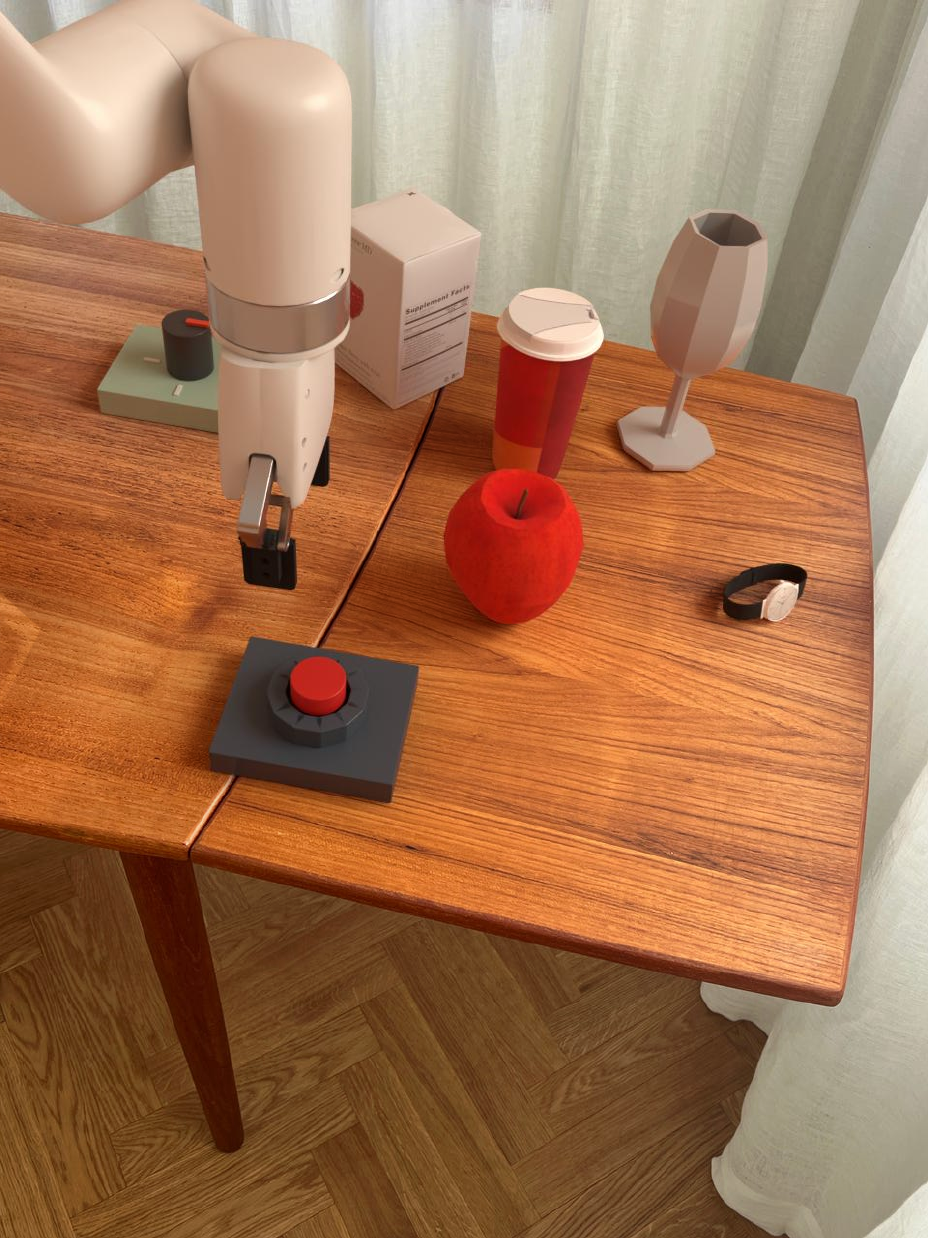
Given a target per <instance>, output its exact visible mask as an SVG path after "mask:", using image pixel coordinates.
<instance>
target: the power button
mask: <svg viewBox="0 0 928 1238" xmlns="http://www.w3.org/2000/svg"><path fill="white" fill-rule="evenodd" d="M290 689H291V699H292V702H293V703H294V705H295V706H296V707H297V708H298V709H299V710H300V711H302V712H304V713H306V714H309V715H315V716H321V715H327V714H330V713H332V712H334V711H336V710H337V709H338V708H339V707H340V706H341V705H342V704H343V702H344V700H345V697H346V674H345V671H344V669H343V668H342V666H341V665H340V664H338V663H337V662H336V661H334V660H332V659H329V658H326V657H311V658H307V659H305V660H303V661H301V662H300V663H298V664H297V665H296V666H295V667H294V669H293V671H292V673H291V676H290Z"/></svg>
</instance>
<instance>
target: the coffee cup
mask: <svg viewBox="0 0 928 1238" xmlns="http://www.w3.org/2000/svg"><path fill="white" fill-rule="evenodd" d="M600 321H601V320H600V317H599V316H598V313H597V311H596V309H594V305H593V304H592V303H591V302H590V301H589V300H587V299H586V298H584V297H583V296H580V295H579V294H577V293H574V292H572V291H569V290H565V289H561V288H554V287H535V288H534V287H533V288H530V289H526V290H523V291H520V292H519V293H517V294H516V295H515V296H514V297H513V298H512V299H511V301H510V302H509V304H508V305H507V306H506V307H505V308H504V310H503V311H502V312H501V314H500V316H499V318H498V320H497V323H496V325H495V326H496V330H497V333H498V335H499V336H500V348H499V349H500V351H499V359H498V360H499V361H498V374H497V386H496V397H495V398H496V399H495V409H494V410H495V411H494V424H493V436H492V437H493V438H492V464H493V467H494V469H495V470H499V469H503V468H504V469H520V470H526V471H532V472H536V473H539V474H541V475H544V476H547V477H550V478H552V479H553V480H554V479H555V478H556V477H557V476H558V474H559V472H560V471H561V467H562V464H563V462H564V459H565V456H566V452H567V450H568V445H569V442H570V439H571V436H572V433H573V429H574V426H575V422H576V419H577V416H578V414H579V411H580V407H581V404H582V400H583V397H584V393H585V389H586V386H587V382H588V378H589V375H590V371H591V368H592V364H593V361H594V357H595V354H596V353H597V351H598V350H599V349H600V348H601V346H602V345H603V342H604V338H605V336H604V330H603V327H602V324H601V322H600Z"/></svg>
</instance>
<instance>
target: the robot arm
mask: <svg viewBox="0 0 928 1238" xmlns="http://www.w3.org/2000/svg"><path fill="white" fill-rule="evenodd" d="M352 146H353V103H352V91H351V86H350V83H349V79H348V77H347V75H346V74H345V71H344V70H343V68H342V67H341V65H340V64H339V63H338V62H337V61H336V60H335V59H334V58H333V57H331V56H330V55H329V54H327V53H326V52H324V51H323V50H322V49H319V48H317V47H315V46H314V45H313V46H312V45H310V44H307V43H305V42H301V41H297V40H291V39H285V38H277V37H267V36H265V37H264V36H260V35H258V34H256V33H254V32H252V31H249V30H248V29H246V28H244V27H242V26H240V25H239V24H237V23H235V22H233V21H231V20H229V19H227V17H224V16H222V15H221V14H219V13H217V12H215V11H214V10H212V9H210V8H208V7H206V6H205V5H203V4H201V3H200V2H197V1H195V0H118V1H116V2H115V3H112V4H110V5H108V6H107V7H104V8H102V9H100V10H99V11H96V12H94V13H92V14H90V15H86V16H84V17H82V18H80V19H78V20H76V21H74V22H72V23H70V24H68V25H66V26H64V27H62V28H60V29H58V30H56V31H54V32H52V33H50V34H48V35H46V36H44V37H43V38H41V39H39V40H37V41H35V42H32V43H30V42H29V41H28V40H27V39H26V38H25V36H24V35H22V33H21V32H20V31H19V30H18V29H17V28H16V27H15V25H14V24H13V23H12V22H11V21H10V20H9V19H8V18H7V17H6V16H5V15H4V14H3V12H2V11H1V10H0V190H1V191H2V192H3V193H4V194H6V195H7V196H9V198H11V199H12V200H14V201H15V202H16V203H18V204H19V205H21V206H22V207H23V208H25V209H26V210H28V211H30V212H32V213H33V214H35V215H37V216H40V217H41V218H44V219H47V220H49V221H52V222H57V223H61V224H64V225H85V224H90V223H93V222H97V221H100V220H103V219H105V218H106V217H109V216H110V215H112V214H113V213H115V212H116V211H118V210H120V209H121V208H123V207H124V206H126V205H127V204H129V203H130V202H131V201H133V200H134V199H136V198H137V197H140V195H142V194H143V193H144V192H146V191H147V190H148V189H150V188H152V186H154V185H155V184H157V183H158V182H159V181H160V180H162V179H164V178H165V177H166V176H168V175H169V174H170V173H174V172H177V171H180V170H184V169H187V168H190V167H194V168H193V169H194V175H195V176H194V177H195V186H196V187H195V188H196V196H197V197H196V198H197V205H198V207H197V208H198V216H199V227H200V236H201V246H202V247H201V248H202V257H203V266H204V268H203V271H204V282H205V292H206V301H207V302H206V303H207V312H208V318H209V324H210V329H211V334H212V335H213V337H215V338H216V339H217V340H218V341H219V342H220V343H221V344H222V346H221V352H220V363H219V377H218V433H217V434H218V455H219V477H220V479H219V480H220V489H221V493H222V495H223V497H224V498H225V499H226V500H227V501H228V500H229V501H237V502H240V500H241V498H242V501H241V505H240V510H239V515H238V519H237V524H236V532H237V535H238V536H237V540H238V542H239V546H240V550H241V551H240V552H241V561H242V572H243V581H244V582H245V583H246V584H247V585H250V586H258V587H265V588H271V589H276V590H277V589H278V590H284V591H295V589H296V587H297V584H298V567H297V566H298V565H297V541H296V540H297V539H296V538H292V537H291V533H292V526H293V517H294V510H295V509H296V508H298V507H300V506H301V505H302V504H304V502H305V501H306V498H307V496H308V493H309V490H310V488H311V487H312V486H313V487H319V488H324V487H327V486H328V485H329V482H330V479H331V476H330V475H331V470H330V469H331V468H330V467H331V466H330V465H331V464H330V463H331V461H330V460H331V456H330V455H331V453H330V451H331V449H330V447H331V446H330V440H331V439H330V435H328V434H329V429H330V426H331V422H332V417H333V413H334V406H335V405H334V403H335V389H336V388H335V385H336V384H335V383H336V382H335V381H336V379H335V378H336V374H335V373H336V370H335V368H336V367H335V366H336V365H335V364H336V363H335V357H334V348H335V347H336V346H337V345H338V344H340V343H341V342H342V341H343V340H344V339H345V337H346V335H347V333H348V330H349V327H350V241H351V209H352V161H353V160H352V158H353V157H352V153H353V152H352V151H353V150H352V149H353V147H352ZM274 482H275V483H276V484H277V486H278V488H279V490H280V491H281V493H282V494H277V493H276V494H275V493H272V491H273V485H274ZM269 506H274V507H275V506H276V507H280V513H279V514H280V515H279V522H278V529H276V528H270V527H269V528H268V522H267V515H268V510H269Z"/></svg>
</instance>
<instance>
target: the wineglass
mask: <svg viewBox="0 0 928 1238" xmlns="http://www.w3.org/2000/svg"><path fill="white" fill-rule="evenodd" d="M768 247H769V246H768V237H767V235H766V233H765V231H764V229H763V227H762V225H761V223H760V222H759V221H757V220H755V219H754V218H751V217H750V216H748V215H746V214H744V213H742V212H740V211H739V210H737V209H725V208H724V209H722V208H721V209H720V208H706V209H703V210H702V211H699V212H697V213H695V214H693V215H691V216H688V218H687V219H686V221H685V222H684V224H683V226H682V227H681V228H680V230H679V232H678V233H677V235H676V236H675V238H674V240H673V241H672V243H671V245H670V248H669V250H668V251H667V255H666V257H665V259H664V261H663V264H662V266H661V268H660V269H659V273H658V274H657V277H656V281H655V285H654V289H653V294H652V297H651V301H650V305H649V314H650V315H649V318H650V339H651V341H652V344H653V348H654V350H655V354H656V357H657V358H658V359H659V360H660V361H661V362H662V363H663V364H664V365H665V366H666V367H667V368H668V369H669V370H670V371H671V372H672V373H673V374H674V375H675V377H674V379H673V383H672V386H671V389H670V392H669V395H668V400H667V403H666V406H641V407H639V408H637V409H635V410H633V411H631V412H630V413H628V414H626V415H625V416H623V417H621V418H619V419H617V421H616V424H615V425H616V429H617V432H618V436H619V439H620V442H621V447H622V450H623V451H624V452H625V453H626V454H628V455H629V456H631V457H632V458H633V459H635V460H636V461H638V462H639V463H641V464H642V465H643V466H645V467H646V468H648V469H649V470H650V471H653V472H690V471H692V470H694V469H695V468H697V467H698V466H701V464H703V463H704V462H707V461H708V460H709V459H711V458H713V457H714V456H715V454H716V449H715V446H714V444H713V440H712V438H711V435H710V433H709V430H708V427H707V425H705V424H704V423H703V422H701V421H699V420H698V419H696V418H695V417H693V416H692V415H690V414H689V413H688V412H686V411H684V410H683V409H684V405H685V401H686V399H687V395H688V392H689V388H690V386H691V383H692V380H695V379H697V378H701V377H705V376H708V375H712V374H714V373H716V372H718V371H721V369H724V368H725V367H727V366H729V365H730V364H732V363H733V362H734V361H735V360H736V358H737V357H738V355H739V354H740V353H741V352H742V350H743V348H745V346H746V344H747V342H749V340H750V339H751V337H752V335H753V332H754V330H755V326H756V324H757V321H758V319H759V315H760V311H761V309H762V304H763V300H764V299H763V298H764V294H765V293H764V292H765V286H766V280H767V274H768V270H769V269H768V268H769V267H768V266H769V264H768V263H769V262H768V261H769V257H768V253H769V251H768V250H769V249H768Z"/></svg>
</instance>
